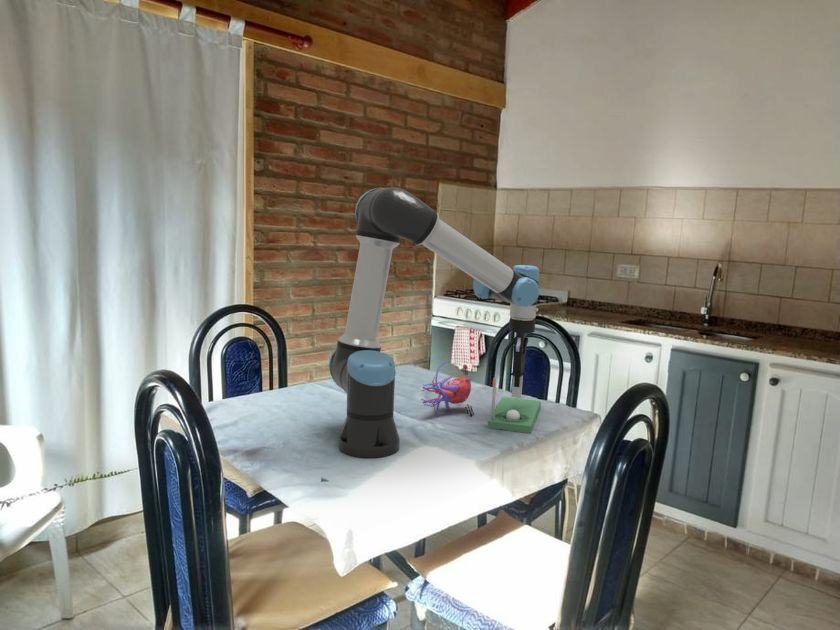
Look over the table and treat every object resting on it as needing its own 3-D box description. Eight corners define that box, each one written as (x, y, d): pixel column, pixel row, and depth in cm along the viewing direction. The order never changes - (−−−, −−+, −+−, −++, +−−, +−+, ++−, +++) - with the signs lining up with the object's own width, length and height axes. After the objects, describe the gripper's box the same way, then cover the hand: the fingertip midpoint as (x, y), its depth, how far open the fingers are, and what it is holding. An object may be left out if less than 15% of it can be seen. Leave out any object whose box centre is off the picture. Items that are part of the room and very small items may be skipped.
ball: (518, 427, 183) (518, 417, 180) (504, 425, 184) (504, 415, 181) (521, 417, 186) (520, 407, 183) (507, 416, 187) (506, 405, 185)
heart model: (485, 416, 193) (441, 417, 179) (460, 417, 200) (415, 418, 185) (482, 360, 196) (438, 356, 182) (458, 362, 203) (414, 359, 188)
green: (529, 434, 175) (533, 384, 173) (486, 429, 178) (488, 379, 176) (540, 407, 201) (543, 363, 198) (502, 402, 204) (504, 359, 202)
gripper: (532, 322, 181) (526, 404, 184) (537, 316, 193) (531, 392, 197) (506, 320, 183) (500, 400, 186) (513, 314, 195) (507, 389, 199)
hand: (516, 396), depth 192 cm, fingers closed
